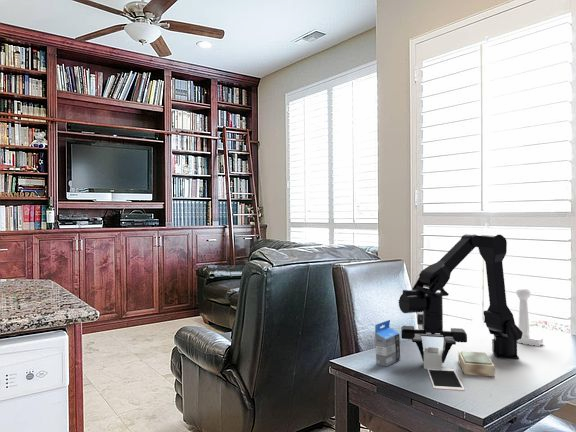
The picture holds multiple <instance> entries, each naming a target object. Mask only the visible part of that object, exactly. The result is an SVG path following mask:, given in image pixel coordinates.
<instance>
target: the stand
mask: <svg viewBox="0 0 576 432" xmlns="http://www.w3.org/2000/svg"><path fill="white" fill-rule="evenodd" d="M458 362H459V365H460V368H461V370H462V372H463V375H469V376H483V377H495V375H496V372H495V370H496V369H495V368H496V366H495V364H494V363H493V361H492V360H491V358H490V357H489V355H488V354H487V353H486V352H482V351H478V352H477V351H465V350H459V351H458Z"/></svg>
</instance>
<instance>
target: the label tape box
mask: <svg viewBox="0 0 576 432" xmlns="http://www.w3.org/2000/svg"><path fill="white" fill-rule="evenodd" d="M390 323H391V320H390V319H388V320H386V321H382V322H380V323H377V324H375V328H374V335H375V336H374V337H375V339H374V340H375V341H374V342H375V364H376V365H378V366H382V367H388V366H391V365H393V364H395V363H396V362H398V361H400V360H401V348H400V347H401V345H400V344H401V342H400V341H401V340H400V333H399V332H397V331H396V330H394V329H393V328H391V327H390V325H391V324H390Z"/></svg>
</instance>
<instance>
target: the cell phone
mask: <svg viewBox="0 0 576 432" xmlns="http://www.w3.org/2000/svg"><path fill="white" fill-rule="evenodd" d="M426 370H427V374H428V376H429V379H430V382H431V385H432V387H433V389H434V390H446V391H447V390H448V391H459V392H460V391H465V390H466V389H465V387H464V385H463V383H462V381H461V379H460V378H459V376H458V374H457V372H456V369H454V368H445V367H444V368H443V367H442V370H436V369H426Z"/></svg>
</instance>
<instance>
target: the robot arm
mask: <svg viewBox="0 0 576 432" xmlns="http://www.w3.org/2000/svg"><path fill="white" fill-rule="evenodd" d="M507 242H508V241H507V238H506V237H505V236H504V235H502V234H494V233H493V234H492V233H483V234H481V235H477V234H472V233H465V234H464V235H463V234H462V236H461V237H460V239H459V240H458V241H457V243H456V244H454V245H453V247H451V248H450V249H449V250H448V251H447V252H446V253H445V255H443V256H442V257H441V258H440V260H438V261H436V262H435V263H433V264H429V265H428V266H426V267H425V268H424V269H423V270H421V271H420V273H419V275H418V276H419V277H418V278H417V280H416V282H415V284H414V285H413V286H412V288H411V289H403V290H402V294H400V296H399V299H398V307H399V310H400V311H401V312H402V314H414V313H417V315H416V316H417V317H416V321H417V322H416V323H417V325H419V326H420V325H421V326H422V327H421V328H422V329H415V325H414V326H413V325H402V326H401V328H400V329H401V331H400V334H401V339H402V340H411V342H412V343H415V345H416V346H417V348H418V351H419V353H420V356H421V359H422V362H423V363H424V345H423V339H422V337H429V338H430V337H431V338H432V337H433V338H443V346H442V364H444V363H445V361H446V359H447V356H448V354H449V352H450V350H451V348H452V346H453V345H456V344H457V343H467V342H468V335H467V332H466V331H465V329H464V328H459V327H458V328H455V327H454V328H453V327H450V330H449V331H448V330H444V326H443V325H444V319H443V318H444V317H443V316H444V314H443V313H444V311H443V306H444V305H443V297H448V296H450V295H449V293H448V292H447V291H446V290H445V286H446V285H447V284H448V282H449V281H450V278H451V273H452V272H453V271H454V270H455V269H456V267H458V266H459V265H460V263H462V261H464V259H466V257H467V256H468V255H470V253H472V252H473V250H474V249H475V248H478V251H479V254H480V256H481V258H482V259H483V260H484V263H485V271H486V280H487V289H488V290H487V291H488V298H489V299H488V301H489V306H488V308H487V310H483V317H484V318H483V319H484V320H483V323H485V325H486V327H487V328H488V331H489V334H490V335H493V338H492V339H491V345H492V346H491V351H492V353H493V354H494V355H495V357H496V358H501V359H502V358H503V359H504V358H505V359H517V360H518V359H520V357H519V355H518V343H517V340H518V339H521V338H522V334H523V333H522V331H521V330H520V329H519V328H518V327H519V326H517V324H516V322H515V318H514V317H515V316H514V313H513V312H512V311H511V309H510V308H509V306H508V304H507V295H506V294H507V292H506V285H505V278H504V276H505V275H504V264H503V261H504V259H505V257H506V255H507V250H508V249H507V247H508V246H507V245H508V243H507ZM421 313H422V314H421Z"/></svg>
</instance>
